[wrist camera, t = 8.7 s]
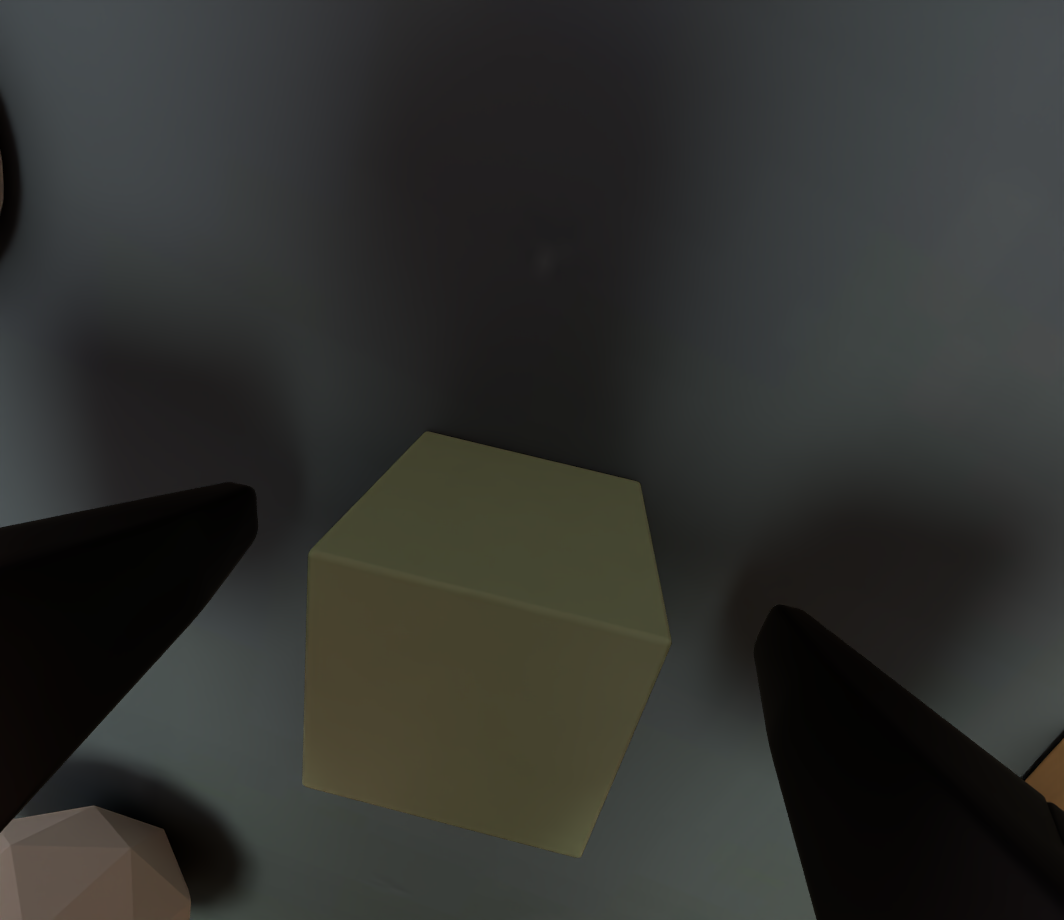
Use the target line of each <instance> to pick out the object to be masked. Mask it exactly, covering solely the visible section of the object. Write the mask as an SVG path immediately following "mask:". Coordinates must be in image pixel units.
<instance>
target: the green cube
mask: <svg viewBox="0 0 1064 920" xmlns="http://www.w3.org/2000/svg"><path fill="white" fill-rule="evenodd" d="M671 644H672V641H671V635H670V630H669V625H668V620H667V615H666V610H665V605H664V600H663V595H662V590H661V585H660V580H659V575H658V570H657V565H656V560H655V555H654V550H653V545H652V540H651V535H650V530H649V525H648V520H647V515H646V510H645V505H644V500H643V495H642V490H641V485H640V483H639V482H637V481H633V480H629V479H625V478H620V477H616V476H612V475H608V474H604V473H600V472H595V471H591V470H587V469H583V468H579V467H575V466H570V465H566V464H562V463H558V462H554V461H549V460H545V459H541V458H537V457H533V456H529V455H524V454H520V453H516V452H512V451H508V450H504V449H499V448H495V447H491V446H487V445H483V444H478V443H474V442H470V441H466V440H462V439H458V438H453V437H449V436H445V435H441V434H437V433H433V432H424V433H423V434H422V435H421V436H420V437H419V438H418V440H417V441H416V442H415V443H414V444H413V445H412V446H411V447H410V448H409V449H408V450H407V451H406V452H405V453H404V454H403V455H402V456H401V457H400V458H399V459H398V460H397V461H396V462H395V463H394V464H393V465H392V466H391V467H390V468H389V469H388V470H387V471H386V472H385V474H384V475H383V476H382V477H381V478H380V479H379V480H378V481H377V482H376V483H375V484H374V485H373V486H372V487H371V488H370V489H369V490H368V491H367V492H366V493H365V494H364V495H363V496H362V497H361V498H360V499H359V500H358V501H357V502H356V503H355V504H354V505H353V506H352V507H351V509H350V510H349V511H348V512H347V513H346V514H345V515H344V516H343V517H342V518H341V519H340V520H339V521H338V522H337V523H336V524H335V525H334V526H333V527H332V528H331V529H330V530H329V531H328V532H327V533H326V534H325V535H324V536H323V537H322V538H321V539H320V540H319V541H318V543H317V544H316V545H315V546H314V547H313V548H312V549H311V550H310V552H309V554H308V574H307V615H306V655H305V696H304V736H303V777H302V784H303V785H304V786H306V787H309V788H312V789H316V790H320V791H324V792H328V793H331V794H335V795H339V796H343V797H347V798H350V799H354V800H358V801H362V802H366V803H369V804H373V805H377V806H381V807H385V808H388V809H392V810H396V811H400V812H404V813H407V814H411V815H415V816H419V817H423V818H426V819H430V820H434V821H438V822H442V823H446V824H449V825H453V826H457V827H461V828H465V829H468V830H472V831H476V832H480V833H484V834H487V835H491V836H495V837H499V838H503V839H506V840H510V841H514V842H518V843H522V844H525V845H529V846H533V847H537V848H541V849H544V850H548V851H552V852H556V853H560V854H563V855H567V856H571V857H575V858H579V857H581V856H582V853H583V851H584V849H585V846H586V844H587V842H588V839H589V837H590V835H591V832H592V830H593V828H594V825H595V823H596V820H597V818H598V816H599V813H600V811H601V809H602V806H603V804H604V802H605V799H606V797H607V795H608V792H609V790H610V788H611V785H612V783H613V780H614V778H615V776H616V773H617V771H618V769H619V766H620V764H621V762H622V759H623V757H624V755H625V752H626V750H627V747H628V745H629V743H630V740H631V738H632V736H633V733H634V731H635V729H636V726H637V724H638V722H639V719H640V717H641V715H642V712H643V710H644V707H645V705H646V703H647V700H648V698H649V696H650V693H651V691H652V689H653V686H654V684H655V682H656V679H657V677H658V674H659V672H660V670H661V667H662V665H663V663H664V660H665V658H666V656H667V653H668V651H669V649H670V646H671Z"/></svg>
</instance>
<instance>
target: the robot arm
mask: <svg viewBox="0 0 1064 920" xmlns="http://www.w3.org/2000/svg"><path fill="white" fill-rule="evenodd" d="M257 531H258V517H257V498H256V493H255V490H254V489H253V488H252V487H250V486H246V485H242V484H237V483H233V482H225V483H220V484H215V485H210V486H205V487H200V488H195V489H190V490H185V491H180V492H175V493H170V494H165V495H160V496H155V497H150V498H145V499H140V500H135V501H130V502H125V503H120V504H115V505H110V506H105V507H100V508H95V509H90V510H85V511H80V512H75V513H70V514H65V515H60V516H55V517H50V518H46V519H41V520H36V521H31V522H26V523H21V524H16V525H11V526H6V527H1V528H0V833H1V832H2V831H3V829H4V828H5V827H6V826H7V825H8V824H9V823H10V822H11V821H12V820H13V818H14V817H15V816H16V815H17V814H18V813H19V812H20V811H21V810H22V809H23V807H24V806H25V805H26V804H27V803H28V802H29V801H30V800H31V799H32V798H33V796H34V795H35V794H36V793H37V792H38V791H39V790H40V789H41V788H42V787H43V785H44V784H45V783H46V782H47V781H48V780H49V779H50V778H51V777H52V776H53V774H54V773H55V772H56V771H57V770H58V769H59V768H60V767H61V766H62V765H63V763H64V762H65V761H66V760H67V759H68V758H69V757H70V756H71V755H72V754H73V752H74V751H75V750H76V749H77V748H78V747H79V746H80V745H81V744H82V743H83V741H84V740H85V739H86V738H87V737H88V736H89V735H90V734H91V733H92V732H93V730H94V729H95V728H96V727H97V726H98V725H99V724H100V723H101V722H102V721H103V719H104V718H105V717H106V716H107V715H108V714H109V713H110V712H111V711H112V710H113V708H114V707H115V706H116V705H117V704H118V703H119V702H120V701H121V700H122V699H123V697H124V696H125V695H126V694H127V693H128V692H129V691H130V690H131V689H132V688H133V686H134V685H135V684H136V683H137V682H138V681H139V680H140V679H141V678H142V677H143V675H144V674H145V673H146V672H147V671H148V670H149V669H150V668H151V667H152V666H153V664H154V663H155V662H156V661H157V660H158V659H159V658H160V657H161V656H162V655H163V653H164V652H165V651H166V650H167V649H168V648H169V647H170V646H171V645H172V644H173V642H174V641H175V640H176V639H177V638H178V637H179V636H180V635H181V634H182V633H183V631H184V630H185V629H186V628H187V627H188V626H189V625H190V624H191V623H192V621H193V620H194V619H195V618H196V617H197V616H198V615H199V613H200V612H201V611H202V610H203V608H204V607H205V606H206V605H207V603H208V602H209V601H210V600H211V598H212V597H213V595H214V594H215V593H216V591H217V590H218V589H219V587H220V586H221V585H222V583H223V582H224V581H225V579H226V578H227V577H228V575H229V574H230V573H231V571H232V570H233V569H234V567H235V566H236V565H237V563H238V562H239V560H240V559H241V558H242V556H243V555H244V554H245V552H246V551H247V550H248V548H249V547H250V546H251V544H252V543H253V541H254V540H255V538H256V535H257ZM754 658H755V665H756V671H757V677H758V683H759V689H760V695H761V701H762V707H763V713H764V719H765V725H766V731H767V736H768V741H769V746H770V750H771V754H772V758H773V762H774V766H775V769H776V773H777V777H778V780H779V784H780V788H781V791H782V795H783V799H784V802H785V806H786V810H787V813H788V817H789V820H790V824H791V828H792V831H793V835H794V839H795V842H796V846H797V850H798V853H799V857H800V861H801V864H802V868H803V871H804V875H805V879H806V882H807V886H808V890H809V893H810V897H811V901H812V904H813V908H814V912H815V915H816V919H817V920H1064V811H1063V810H1062V809H1060V808H1059V807H1058V806H1056V805H1055V804H1054V803H1052V802H1046V799H1045V797H1044V796H1043V795H1042V794H1041V793H1039V792H1038V791H1037V790H1035V789H1034V788H1033V787H1032V786H1030V785H1029V784H1028V783H1026V782H1025V781H1024V780H1023V779H1021V778H1020V777H1019V776H1017V775H1016V774H1015V773H1013V772H1012V771H1011V770H1010V769H1008V768H1007V767H1006V766H1004V765H1003V764H1002V763H1000V762H999V761H998V760H997V759H995V758H994V757H993V756H991V755H990V754H989V753H988V752H986V751H985V750H984V749H982V748H981V747H980V746H978V745H977V744H976V743H975V742H973V741H972V740H971V739H969V738H968V737H967V736H965V735H964V734H963V733H962V732H960V731H959V730H958V729H956V728H955V727H954V726H953V725H951V724H950V723H949V722H947V721H946V720H945V719H943V718H942V717H941V716H940V715H938V714H937V713H936V712H934V711H933V710H932V709H930V708H929V707H928V706H927V705H925V704H924V703H923V702H921V701H920V700H919V699H918V698H916V697H915V696H914V695H912V694H911V693H910V692H908V691H907V690H906V689H905V688H903V687H902V686H901V685H899V684H898V683H897V682H895V681H894V680H893V679H892V678H890V677H889V676H888V675H886V674H885V673H884V672H883V671H881V670H880V669H879V668H877V667H876V666H875V665H873V664H872V663H871V662H870V661H868V660H867V659H866V658H864V657H863V656H862V655H861V654H859V653H858V652H857V651H855V650H854V649H853V648H851V647H850V646H849V645H848V644H846V643H845V642H844V641H842V640H841V639H840V638H838V637H837V636H836V635H835V634H833V633H832V632H831V631H829V630H828V629H827V628H826V627H824V626H823V625H822V624H820V623H819V622H818V621H816V620H815V619H814V618H813V617H811V616H810V615H809V614H807V613H806V612H805V611H803V610H801V609H798V608H794V607H789V606H785V605H776V606H774V607H773V608H772V609H771V610H770V612H769V614H768V616H767V618H766V620H765V622H764V624H763V626H762V629H761V631H760V633H759V635H758V637H757V639H756V642H755V645H754Z"/></svg>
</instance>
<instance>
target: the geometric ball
mask: <svg viewBox="0 0 1064 920" xmlns="http://www.w3.org/2000/svg"><path fill="white" fill-rule="evenodd" d="M190 909H191V899H190V893H189V890H188V887H187V885H186V882H185V880H184V877H183V875H182V873H181V870H180V868H179V865H178V863H177V860H176V858H175V855H174V853H173V851H172V848H171V846H170V843H169V841H168V838H167V836H166V833H165V831H164V829H162V828H159V827H156V826H153V825H150V824H147V823H144V822H141V821H138V820H135V819H133V818H130V817H127V816H124V815H121V814H118V813H115V812H112V811H109V810H106V809H103V808H100V807H97V806H94V805H93V806H87V807H82V808H76V809H70V810H64V811H58V812H53V813H47V814H41V815H35V816H29V817H23V818H18V819H13V820H12V821H11V822H10V823H9V824H8V825H7V826H6V827H5V828H4V829H3V831H2V832H1V833H0V920H190Z"/></svg>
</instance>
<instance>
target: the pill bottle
mask: <svg viewBox="0 0 1064 920" xmlns="http://www.w3.org/2000/svg"><path fill="white" fill-rule="evenodd" d="M3 198H4V182H3V165H2V158H1V151H0V214H1V209H2V204H3Z"/></svg>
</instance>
